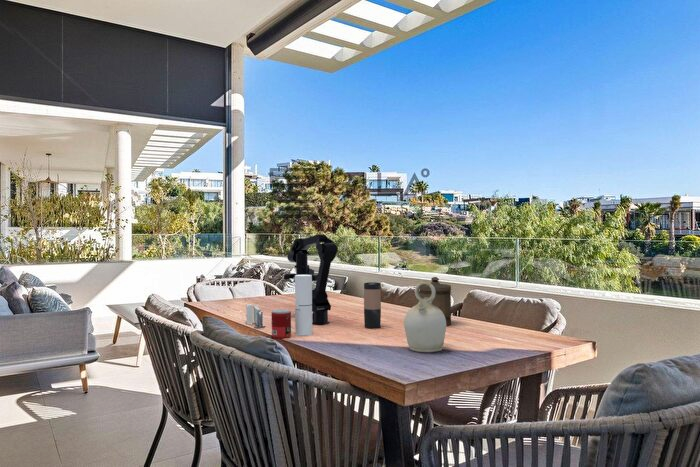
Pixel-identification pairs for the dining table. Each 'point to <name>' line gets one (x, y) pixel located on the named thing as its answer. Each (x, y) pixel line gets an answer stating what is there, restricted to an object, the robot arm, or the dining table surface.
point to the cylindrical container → (303, 305)
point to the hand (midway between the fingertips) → (301, 294)
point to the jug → (425, 324)
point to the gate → (256, 313)
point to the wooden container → (439, 297)
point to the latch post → (249, 313)
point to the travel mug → (372, 305)
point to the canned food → (281, 323)
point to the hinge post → (259, 320)
